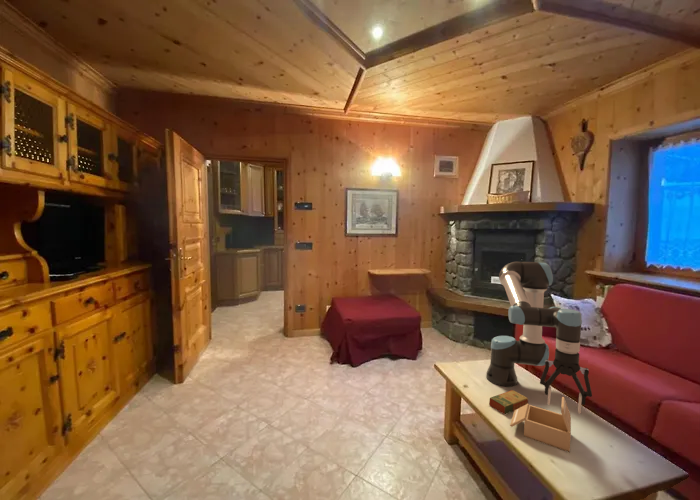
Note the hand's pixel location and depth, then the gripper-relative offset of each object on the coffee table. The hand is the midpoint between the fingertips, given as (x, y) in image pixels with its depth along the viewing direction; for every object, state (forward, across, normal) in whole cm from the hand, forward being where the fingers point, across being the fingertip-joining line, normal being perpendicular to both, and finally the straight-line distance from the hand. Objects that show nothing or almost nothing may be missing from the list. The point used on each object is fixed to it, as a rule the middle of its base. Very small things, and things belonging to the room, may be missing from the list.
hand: (563, 407), depth 120 cm
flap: (+6, +2, 0) cm, 6 cm away
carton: (+14, -21, +14) cm, 29 cm away
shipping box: (+13, -7, 0) cm, 15 cm away
